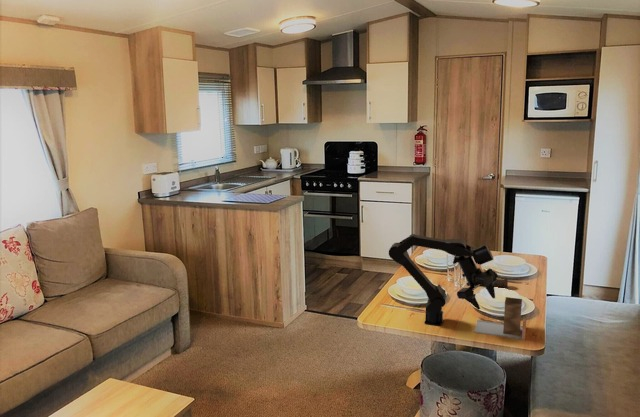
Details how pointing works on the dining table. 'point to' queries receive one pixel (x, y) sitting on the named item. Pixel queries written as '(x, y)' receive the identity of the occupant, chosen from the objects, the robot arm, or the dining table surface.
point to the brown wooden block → (512, 316)
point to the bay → (498, 329)
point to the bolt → (501, 283)
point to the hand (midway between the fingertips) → (486, 303)
